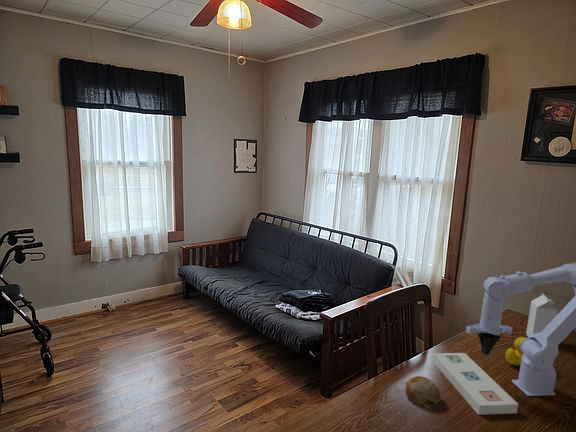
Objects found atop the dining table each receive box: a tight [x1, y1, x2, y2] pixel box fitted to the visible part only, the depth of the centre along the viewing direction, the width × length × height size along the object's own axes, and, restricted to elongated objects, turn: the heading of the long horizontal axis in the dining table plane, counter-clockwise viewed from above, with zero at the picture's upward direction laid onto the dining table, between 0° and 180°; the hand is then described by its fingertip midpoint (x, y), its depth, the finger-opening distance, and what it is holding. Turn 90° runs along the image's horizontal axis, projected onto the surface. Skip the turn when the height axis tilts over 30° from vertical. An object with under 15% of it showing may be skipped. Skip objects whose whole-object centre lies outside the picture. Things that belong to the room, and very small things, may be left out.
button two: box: [447, 356, 463, 363], centre depth 132 cm, size 4×4×3 cm
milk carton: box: [525, 292, 558, 338], centre depth 153 cm, size 7×7×19 cm
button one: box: [480, 392, 501, 401], centre depth 113 cm, size 4×4×3 cm
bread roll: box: [404, 375, 441, 409], centre depth 115 cm, size 10×10×8 cm
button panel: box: [432, 352, 519, 416], centre depth 123 cm, size 12×28×3 cm, turn 6°
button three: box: [462, 373, 480, 381], centre depth 122 cm, size 4×4×3 cm
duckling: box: [504, 336, 526, 366], centre depth 135 cm, size 11×5×10 cm, turn 108°
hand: (485, 353), depth 123 cm, fingers closed
